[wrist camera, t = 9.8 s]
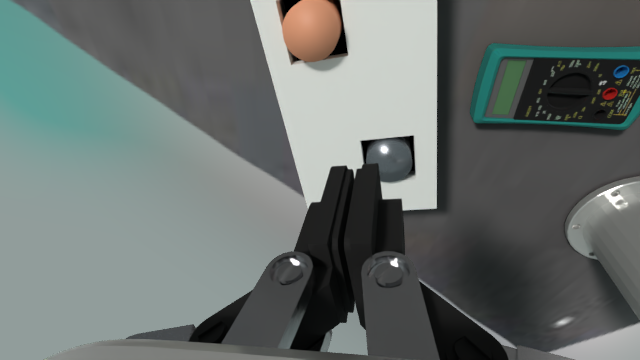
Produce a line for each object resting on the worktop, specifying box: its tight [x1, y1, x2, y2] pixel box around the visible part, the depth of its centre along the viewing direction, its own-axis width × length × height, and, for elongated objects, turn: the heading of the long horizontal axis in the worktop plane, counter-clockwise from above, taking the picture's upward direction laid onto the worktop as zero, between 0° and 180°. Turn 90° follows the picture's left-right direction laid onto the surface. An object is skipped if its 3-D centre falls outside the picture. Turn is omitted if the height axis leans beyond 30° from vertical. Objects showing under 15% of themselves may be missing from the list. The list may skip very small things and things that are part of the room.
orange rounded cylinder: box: [282, 0, 344, 62], centre depth 28 cm, size 4×4×6 cm
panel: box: [250, 0, 437, 210], centre depth 32 cm, size 14×26×6 cm, turn 11°
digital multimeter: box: [470, 43, 640, 130], centre depth 31 cm, size 7×15×3 cm, turn 91°
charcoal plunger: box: [366, 136, 412, 182], centre depth 34 cm, size 4×4×6 cm
